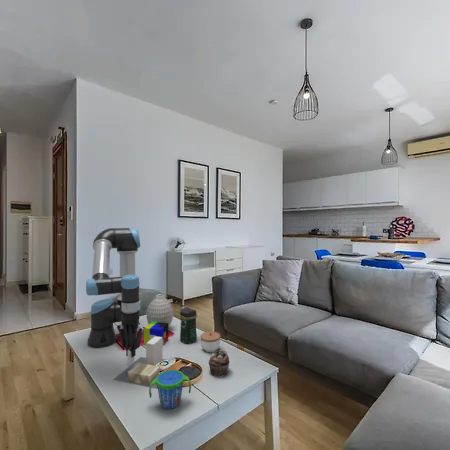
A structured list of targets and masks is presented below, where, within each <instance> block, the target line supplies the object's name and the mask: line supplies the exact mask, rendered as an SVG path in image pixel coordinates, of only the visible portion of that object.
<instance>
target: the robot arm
mask: <svg viewBox="0 0 450 450" xmlns="http://www.w3.org/2000/svg"><path fill="white" fill-rule="evenodd" d="M92 243H93V244H92V248H93V252H94V253H93V263H92V273H91V278H88V279H87V280H86V284H85V292H86V296H102V295H110V294H111V295H113V294H119V296H118V297H117V298H116V299H117V301H116V300H115V301H114V299H113V298H104V299H100V300H98V301H96V302H93V303H92V304H91V306H90V331H89V335H88V338H87V347H90V348H93V349H102V348H105V347H108V346H111V345H113V344H115V343H116V342H117V341H116V339H117V340H118V338H117V337H118V336H117V334H116V332H115V328H114V323H120V324H118V325H116V329H117V330H118V333H119V338H120V344H121V348H122V349H123V348H124V349H125V356H126V357H127V366H130V365H132V364H133V363H134V362H135V356H136V350H137V349H138V348H140V346H141V342H142V337H143V334H144V329H145V326H142V325H141V324H140V313H141V307H142V304H141V303H142V300H141V299H140V277H139V275H136V253H137V252H138V251H139V248H141V239H140V233H139V229H138V228H134V227H120V228H119V227H114V228H112V227H111V228H110V227H109V228H107V229H103V230H102V231H101V232H98V234H97V235H96V236H95V238H94V240H93V242H92ZM112 249H116V252H117V253H118V254H119V276H113V277H111V276H110V265H111V264H110V260H111V257H110V256H111V255H110V254H111V250H112Z"/></svg>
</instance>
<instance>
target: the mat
mask: <svg viewBox="0 0 450 450" xmlns="http://www.w3.org/2000/svg"><path fill="white" fill-rule="evenodd" d="M136 363H143V364H146V356H145V357H144V356H140V357H138V358H137V359H136V360H134V363H133V364H132V365H128V367H127V368H125V369H124V370H123V371H122V372H120V373H119V374H118V375H117V376H115V377H114V378H113V379H112V381H118V382H120V383H121V382H122V383H127V384H131V385H136V386H142V387H147V388H150V386H149V385H144V384H139V383H134V382H129V381H126V371H127V370H129V369H130V368H131V367H132V366H133V365H134V364H136ZM151 389H156V390H158V388H157V385H156V384H153V385H152V386H151Z"/></svg>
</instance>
